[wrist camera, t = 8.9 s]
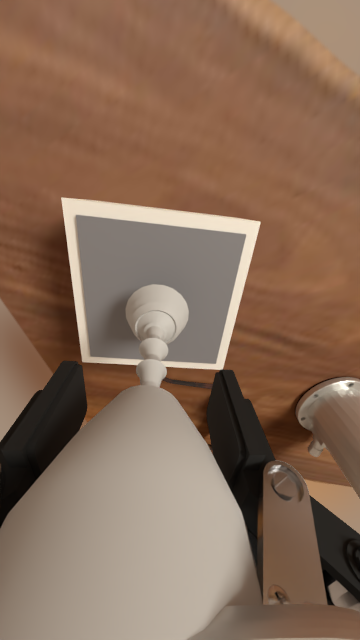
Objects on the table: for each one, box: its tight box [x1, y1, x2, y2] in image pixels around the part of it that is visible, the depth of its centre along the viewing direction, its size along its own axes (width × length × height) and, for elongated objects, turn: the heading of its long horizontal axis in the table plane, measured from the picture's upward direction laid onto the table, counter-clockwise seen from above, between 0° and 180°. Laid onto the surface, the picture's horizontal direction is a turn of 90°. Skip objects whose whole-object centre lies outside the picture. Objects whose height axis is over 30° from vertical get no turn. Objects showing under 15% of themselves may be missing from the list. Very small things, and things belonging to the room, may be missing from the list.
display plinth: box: [61, 198, 261, 370], centre depth 23 cm, size 15×15×7 cm
